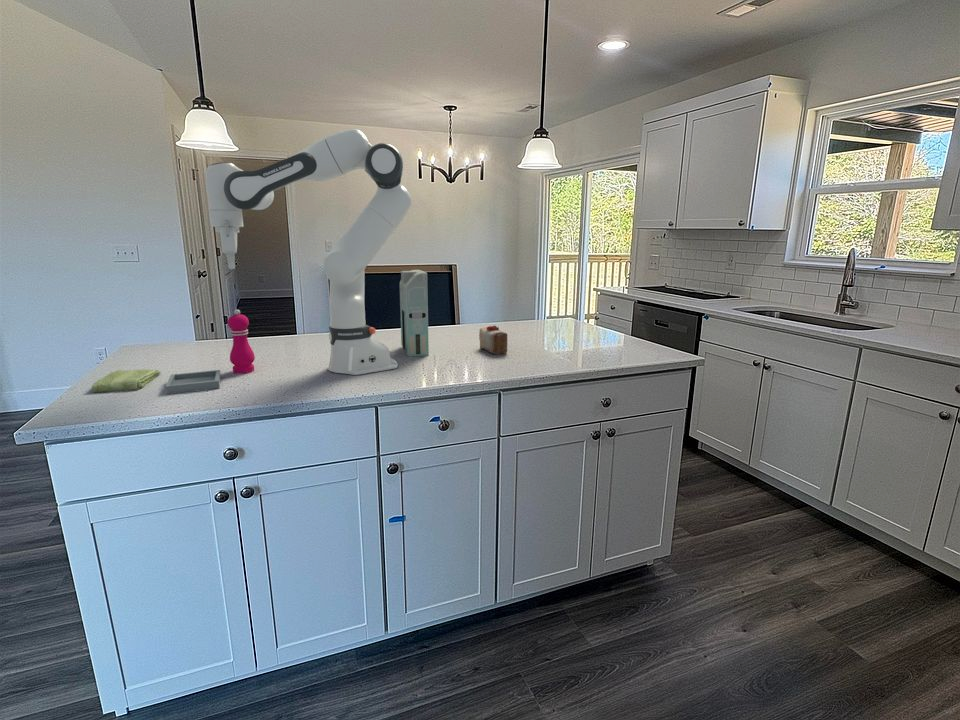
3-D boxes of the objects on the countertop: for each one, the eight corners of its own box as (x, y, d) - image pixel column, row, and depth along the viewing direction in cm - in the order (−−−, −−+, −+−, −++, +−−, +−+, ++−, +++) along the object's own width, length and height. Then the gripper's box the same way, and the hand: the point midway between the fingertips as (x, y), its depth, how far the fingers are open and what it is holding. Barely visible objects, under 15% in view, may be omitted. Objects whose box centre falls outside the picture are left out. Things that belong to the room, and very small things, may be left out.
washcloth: (163, 374, 156) (161, 365, 155) (141, 391, 139) (139, 381, 139) (115, 377, 153) (113, 367, 152) (87, 395, 136) (85, 384, 135)
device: (401, 347, 195) (399, 269, 187) (420, 346, 197) (419, 269, 189) (407, 356, 179) (405, 273, 172) (428, 355, 182) (427, 273, 174)
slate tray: (220, 376, 153) (220, 369, 152) (219, 388, 142) (218, 380, 141) (172, 381, 148) (171, 374, 147) (166, 394, 136) (165, 386, 136)
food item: (476, 348, 194) (476, 323, 192) (494, 346, 198) (494, 322, 195) (491, 355, 182) (492, 329, 180) (510, 353, 186) (511, 327, 183)
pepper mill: (246, 374, 155) (239, 311, 150) (226, 373, 156) (218, 310, 152) (260, 368, 162) (254, 308, 157) (241, 367, 163) (234, 307, 158)
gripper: (238, 220, 140) (243, 269, 143) (238, 221, 158) (243, 265, 161) (213, 220, 137) (219, 270, 141) (216, 221, 155) (221, 265, 159)
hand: (232, 267), depth 151 cm, fingers open, 8 cm apart
